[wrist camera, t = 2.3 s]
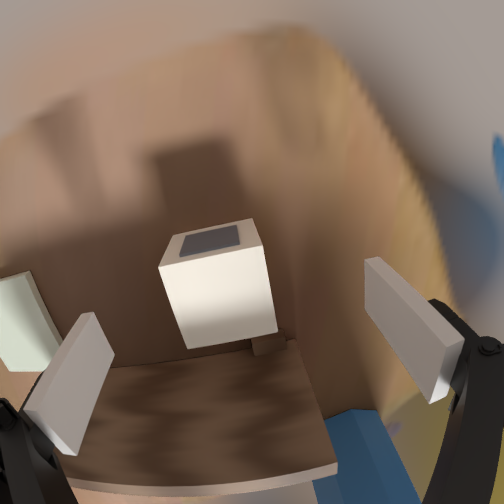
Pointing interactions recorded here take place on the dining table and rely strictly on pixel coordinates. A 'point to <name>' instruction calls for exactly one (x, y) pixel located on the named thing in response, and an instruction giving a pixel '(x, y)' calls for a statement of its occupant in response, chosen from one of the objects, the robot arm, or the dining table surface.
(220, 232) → the white cube
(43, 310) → the coaster
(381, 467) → the water bottle
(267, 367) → the walnut screen
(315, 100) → the dining table surface
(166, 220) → the dining table surface
